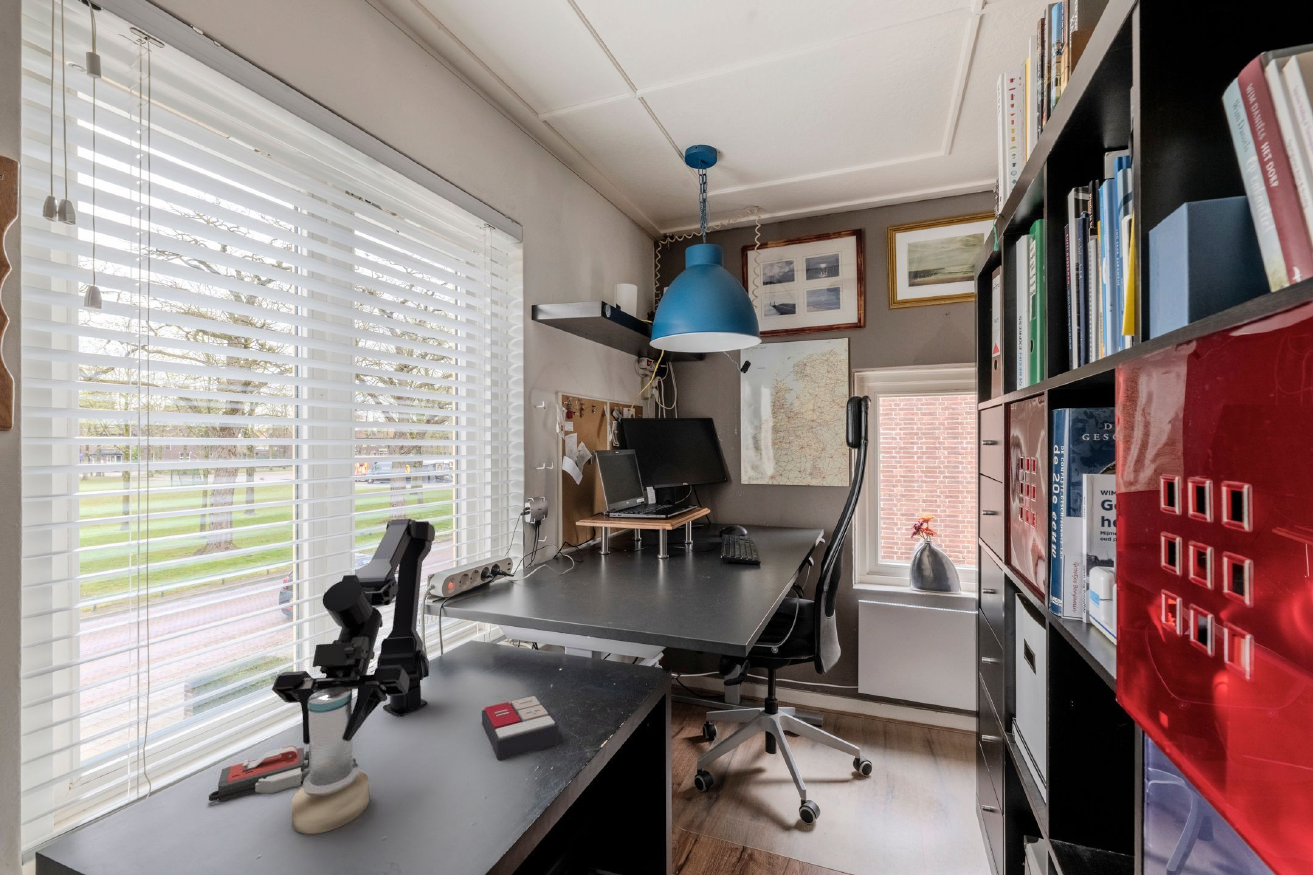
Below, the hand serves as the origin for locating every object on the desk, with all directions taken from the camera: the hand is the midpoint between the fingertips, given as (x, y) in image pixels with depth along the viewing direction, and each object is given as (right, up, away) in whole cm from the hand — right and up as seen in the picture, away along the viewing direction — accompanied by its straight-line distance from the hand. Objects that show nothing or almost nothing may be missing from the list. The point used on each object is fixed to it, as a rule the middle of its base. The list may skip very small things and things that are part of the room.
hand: (326, 741), depth 82 cm
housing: (0, -7, +1) cm, 7 cm away
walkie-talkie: (-13, -12, +10) cm, 21 cm away
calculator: (+23, -11, +23) cm, 34 cm away
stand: (0, -11, +1) cm, 11 cm away
